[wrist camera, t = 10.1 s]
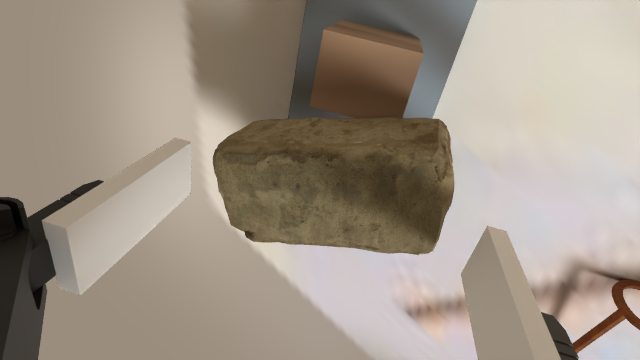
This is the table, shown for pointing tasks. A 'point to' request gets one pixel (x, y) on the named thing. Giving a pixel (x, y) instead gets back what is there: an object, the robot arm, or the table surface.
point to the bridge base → (394, 17)
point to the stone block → (339, 182)
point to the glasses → (612, 315)
